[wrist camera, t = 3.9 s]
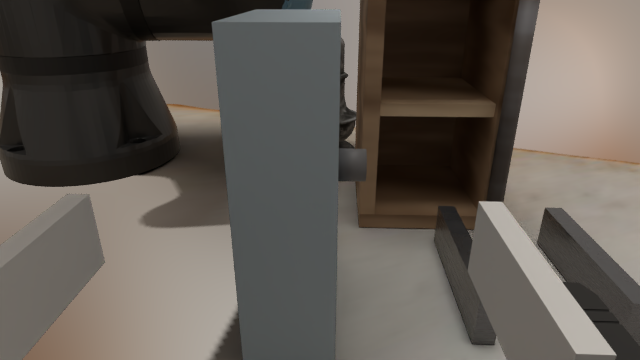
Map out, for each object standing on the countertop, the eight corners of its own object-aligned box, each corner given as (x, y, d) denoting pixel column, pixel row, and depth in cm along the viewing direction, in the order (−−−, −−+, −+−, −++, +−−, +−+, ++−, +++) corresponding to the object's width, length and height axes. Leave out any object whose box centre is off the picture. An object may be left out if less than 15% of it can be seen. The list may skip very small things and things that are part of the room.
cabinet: (499, 238, 29) (550, -37, 22) (359, 235, 29) (370, -36, 23) (457, 172, 39) (484, -30, 33) (354, 170, 39) (361, -30, 33)
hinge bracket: (640, 348, 20) (657, 304, 19) (472, 344, 20) (480, 299, 19) (553, 242, 28) (561, 207, 27) (434, 240, 29) (438, 205, 28)
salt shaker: (289, 145, 46) (285, 21, 41) (338, 137, 48) (340, 19, 43) (315, 164, 41) (315, 26, 36) (369, 153, 43) (375, 23, 39)
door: (358, 366, 19) (373, 22, 14) (243, 362, 19) (211, 21, 14) (353, 261, 27) (361, 9, 21) (269, 259, 27) (256, 9, 21)
